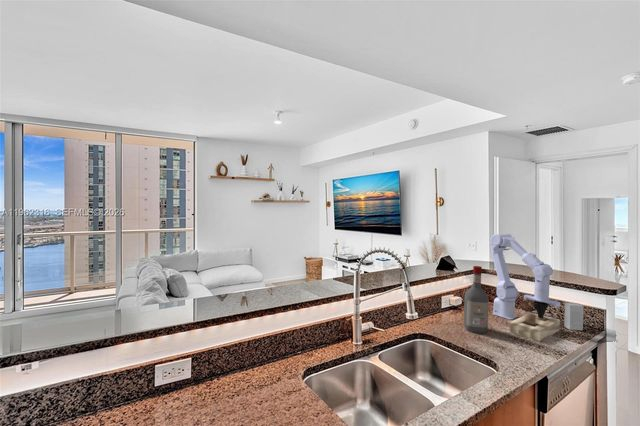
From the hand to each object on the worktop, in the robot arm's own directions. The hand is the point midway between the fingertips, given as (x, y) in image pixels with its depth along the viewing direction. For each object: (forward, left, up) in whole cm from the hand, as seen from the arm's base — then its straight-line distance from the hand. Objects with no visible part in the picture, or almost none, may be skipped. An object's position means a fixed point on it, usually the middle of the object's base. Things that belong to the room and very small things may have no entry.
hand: (540, 317), depth 151 cm
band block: (0, -6, -5) cm, 8 cm away
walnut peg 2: (0, 0, -5) cm, 5 cm away
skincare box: (+9, +14, -6) cm, 18 cm away
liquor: (-17, -28, -6) cm, 33 cm away
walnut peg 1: (0, -12, -1) cm, 12 cm away
